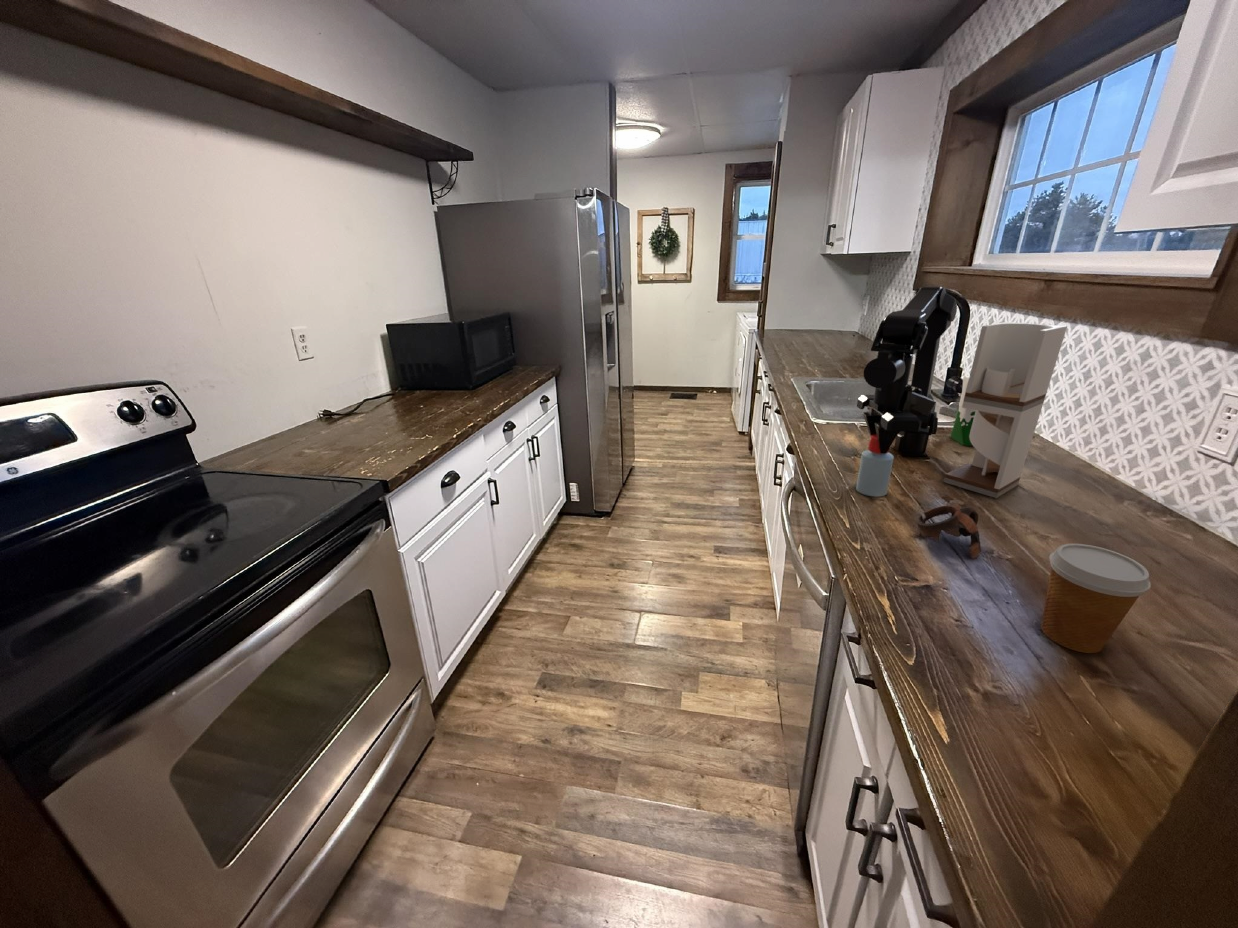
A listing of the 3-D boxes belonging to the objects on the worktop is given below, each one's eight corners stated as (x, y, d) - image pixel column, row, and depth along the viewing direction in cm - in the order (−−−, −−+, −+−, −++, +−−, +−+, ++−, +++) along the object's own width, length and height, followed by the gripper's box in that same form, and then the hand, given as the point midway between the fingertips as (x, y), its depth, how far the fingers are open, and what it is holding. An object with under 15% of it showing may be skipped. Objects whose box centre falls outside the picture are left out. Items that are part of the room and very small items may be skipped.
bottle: (881, 485, 113) (890, 435, 108) (890, 497, 107) (901, 445, 103) (852, 484, 114) (860, 435, 109) (860, 496, 108) (869, 444, 104)
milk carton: (961, 446, 135) (980, 374, 128) (944, 436, 144) (961, 367, 136) (995, 447, 135) (1016, 374, 127) (976, 436, 143) (995, 367, 135)
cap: (866, 447, 109) (868, 433, 108) (885, 447, 108) (887, 434, 107) (871, 453, 105) (873, 439, 104) (891, 454, 105) (893, 440, 103)
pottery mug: (971, 569, 82) (951, 527, 82) (917, 566, 91) (898, 527, 90) (1004, 532, 87) (986, 492, 87) (950, 532, 96) (933, 495, 95)
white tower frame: (966, 470, 120) (1005, 322, 107) (1017, 485, 112) (1067, 326, 99) (943, 481, 114) (982, 326, 101) (996, 498, 106) (1045, 330, 93)
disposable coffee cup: (1008, 616, 71) (1033, 543, 66) (1070, 611, 71) (1099, 539, 67) (1070, 665, 62) (1103, 586, 57) (1140, 659, 63) (1178, 580, 58)
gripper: (958, 389, 91) (940, 467, 97) (914, 369, 108) (901, 436, 114) (895, 389, 93) (880, 466, 98) (861, 369, 110) (851, 436, 116)
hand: (879, 450), depth 107 cm, fingers closed on cap, 4 cm apart
